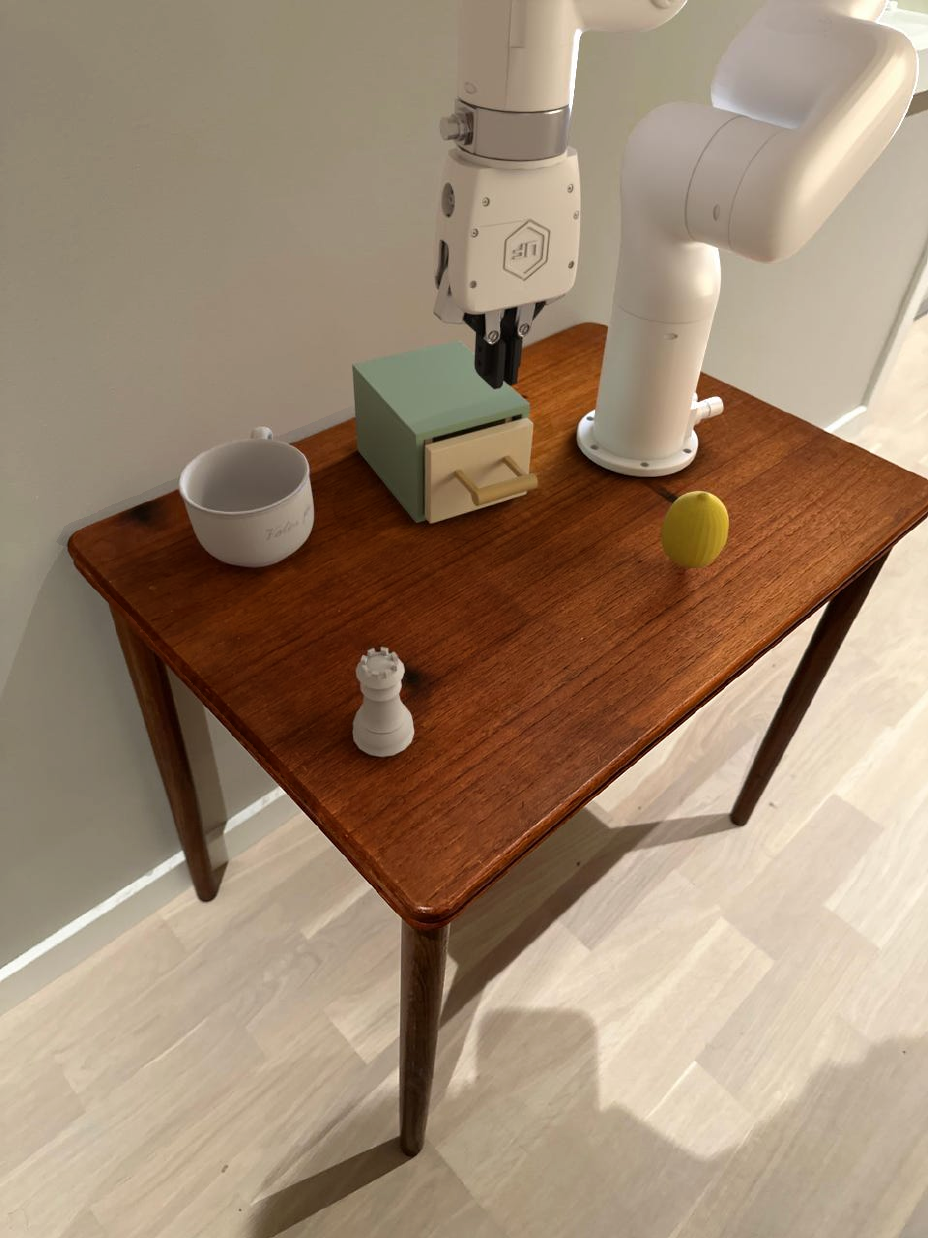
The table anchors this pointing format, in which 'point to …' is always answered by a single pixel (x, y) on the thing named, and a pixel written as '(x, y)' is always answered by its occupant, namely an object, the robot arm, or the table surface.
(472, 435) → the drawer
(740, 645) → the table surface
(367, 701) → the rook chess piece
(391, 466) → the cabinet
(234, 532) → the teacup
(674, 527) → the lemon
